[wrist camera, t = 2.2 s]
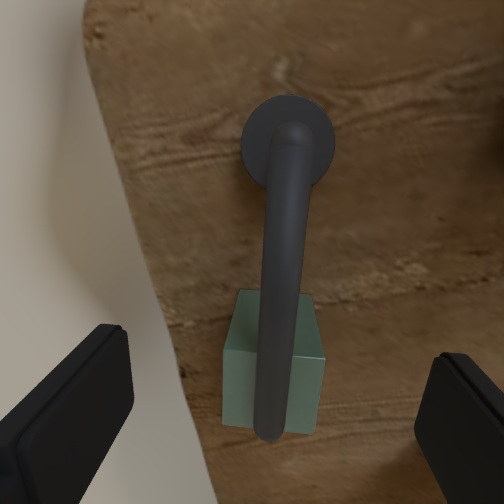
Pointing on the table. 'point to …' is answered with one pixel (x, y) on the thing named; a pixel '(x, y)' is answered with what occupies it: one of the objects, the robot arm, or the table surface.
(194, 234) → the table surface
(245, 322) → the green rectangular block
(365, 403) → the table surface
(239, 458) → the table surface
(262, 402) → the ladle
